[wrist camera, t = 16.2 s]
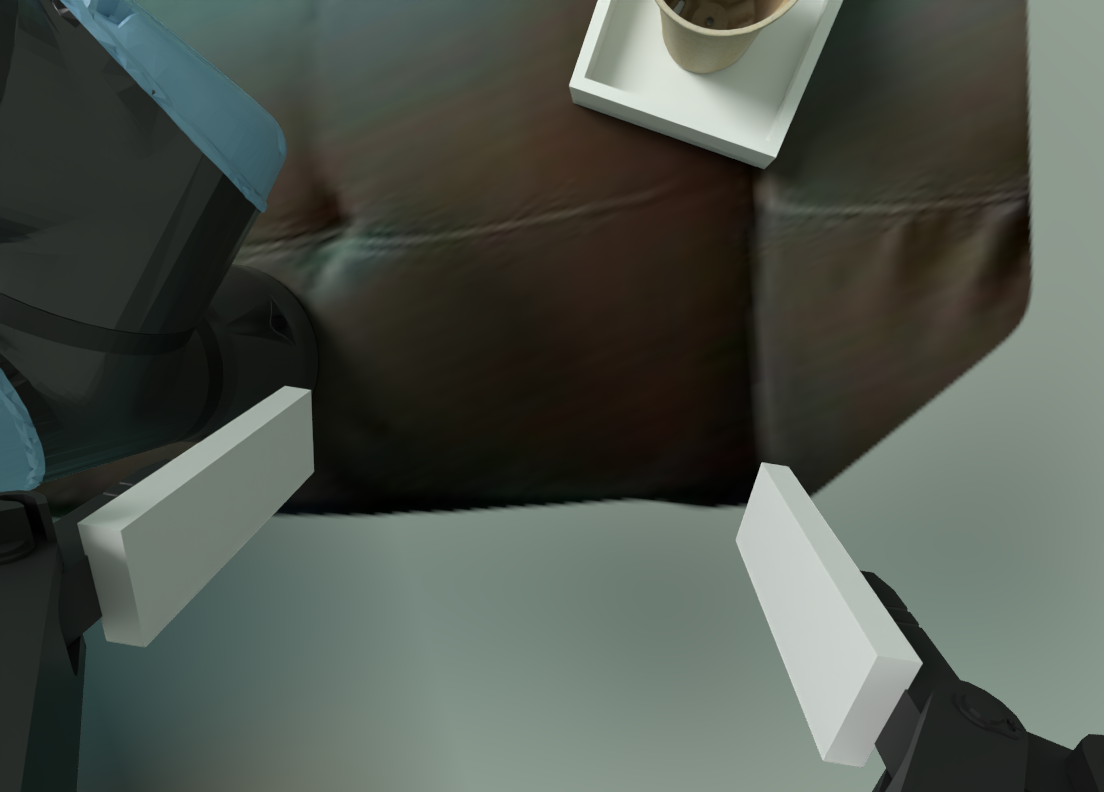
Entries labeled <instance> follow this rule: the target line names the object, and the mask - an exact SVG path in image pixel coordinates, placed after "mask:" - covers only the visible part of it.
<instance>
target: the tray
mask: <svg viewBox="0 0 1104 792" xmlns="http://www.w3.org/2000/svg"><path fill="white" fill-rule="evenodd" d="M842 2H843V0H798V1H797V3H796V4H795V5H794V6H793V7H792V8H791V9H790V10H789V11H788V12H786V13H785V14H784V15H783V16H782V17H780V18H779V19H778V20H776V21H775V22H773V23H772V24H770V25H768V26H767V27H765V28H763V30H762V31H761V32H760V33H759V35H758V36H757V37H756V38H755V40H754V41H753V42H752V44H751V45H750V46H749V48H748V49H747V51H746V52H745V53H744V54H743V56H742V57H741V58H740V59H739V60H737V61H736V62H735V63H734V64H732V65H730V66H728V67H726V68H724V69H721V70H718V71H715V72H712V73H707V74H703V73H695V72H691V71H689V70H686V69H684V68H683V67H681V66H680V65H679V64H677V63H676V62H675V61H674V60H673V58H672V57H671V56H670V54H669V52H668V50H667V48H666V46H665V43H664V40H663V35H662V22H661V15H660V8H659V6H658V5H657V3H656V2H655V0H598V2H597V5H596V8H595V11H594V14H593V17H592V20H591V23H590V26H589V29H588V31H587V34H586V37H585V40H584V43H583V46H582V49H581V52H580V55H579V58H578V61H577V64H576V67H575V70H574V73H573V76H572V79H571V82H570V84H569V88H570V92H571V95H572V99H573V103H575V104H578V105H581V106H584V107H587V108H590V109H592V110H595V111H598V112H601V113H604V114H607V115H610V116H613V117H615V118H618V119H621V120H624V121H627V122H630V123H633V124H635V125H638V126H641V127H644V128H647V129H650V130H653V131H656V132H658V133H661V134H664V135H667V136H670V137H673V138H676V139H679V140H681V141H684V142H687V143H690V144H693V145H696V146H699V147H702V148H704V149H707V150H710V151H713V152H716V153H719V154H722V155H725V156H727V157H730V158H733V159H736V160H739V161H742V162H745V163H747V164H750V165H753V166H756V167H759V168H762V169H765V168H766V167H767V166H768V165H769V164H770V163H771V162H772V161H773V160H774V159H775V158H776V156H777V154H778V152H779V149H780V147H781V144H782V142H783V140H784V137H785V135H786V133H787V130H788V128H789V126H790V123H791V121H792V119H793V116H794V114H795V112H796V109H797V107H798V105H799V102H800V100H801V98H802V95H803V93H804V91H805V88H806V86H807V84H808V81H809V79H810V77H811V74H812V72H813V70H814V67H815V65H816V63H817V60H818V58H819V56H820V53H821V51H822V49H823V46H824V44H825V41H826V39H827V37H828V34H829V32H830V30H831V27H832V25H833V23H834V20H835V18H836V16H837V13H838V11H839V9H840V6H841V4H842ZM684 4H685V1H683V0H680V1H679V2H678V4H677V6H676V7H675V8H674V10H673V11H674V12H675V13H676V14H677V15H678V16H679V13H680V12H681V10H682V8H683V6H684ZM707 24H708V25H711V24H713V20H712V18H709V19H707Z"/></svg>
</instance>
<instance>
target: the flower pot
mask: <svg viewBox="0 0 1104 792" xmlns="http://www.w3.org/2000/svg"><path fill="white" fill-rule="evenodd" d="M679 1H680V0H655V2H656V3H657V5H658V6H659V8H660V15H661V22H662V35H663V40H664V43H665V46H666V48H667V50H668V52H669V54H670V56H671V57H672V58H673V60H674V61H675V62H676V63H677V64H679V65H680V66H681V67H683V68H684V69H686V70H689V71H691V72H695V73H703V74H707V73H712V72H715V71H718V70H721V69H724V68H726V67H728V66H730V65H732V64H734V63H735V62H736V61H737V60H739V59H740V58H741V57H742V56H743V54H744V53H745V52H746V51H747V49H748V48H749V46H750V45H751V44H752V42H753V41H754V40H755V38H756V37H757V36H758V35H759V33H760V32H761V31H762V30H763V28H765V27H767V26H768V25H770V24H772V23H773V22H775V21H776V20H778V19H779V18H780V17H782V16H783V15H784V14H785V13H786V12H788V11H789V10H790V9H791V8H792V7H793V6H794V5H795V4H796V3H797V1H798V0H683V1H685V4H684V6H683V8H682V10H681V12H680V13H679V16H678V15H677V14H676V13H675V12H674V11H673V10H674V8H675V7H676V6H677V4H678V2H679ZM709 18H712V20H713V24H711V25H708V24H707V19H709Z"/></svg>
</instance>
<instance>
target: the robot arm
mask: <svg viewBox="0 0 1104 792" xmlns="http://www.w3.org/2000/svg"><path fill="white" fill-rule="evenodd" d="M286 154H287V145H286V140H285V136H284V134H283V131H282V130H281V128H280V126H279V124H278V123H277V122H276V120H275V119H274V118H273V117H272V116H271V115H270V114H269V113H268V112H267V111H266V110H265V109H264V108H263V107H262V106H260V105H259V104H258V103H257V102H256V101H255V100H254V99H252V98H251V97H250V96H249V95H248V94H247V93H246V92H244V91H243V90H242V89H241V88H240V87H238V86H237V85H236V84H235V83H234V82H233V81H231V80H230V79H229V78H228V77H227V76H225V75H224V74H223V73H222V72H221V71H219V70H218V69H217V68H216V67H215V66H213V65H212V64H211V63H210V62H209V61H207V60H206V59H205V58H204V57H203V56H201V55H200V54H199V53H198V52H196V51H195V50H194V49H193V48H191V47H190V46H189V45H188V44H187V43H185V42H184V41H183V40H182V39H180V38H179V37H178V36H177V35H176V34H174V33H173V32H172V31H171V30H170V29H168V28H167V27H166V26H165V25H163V24H162V23H161V22H160V21H159V20H157V19H156V18H155V17H154V16H152V15H151V14H150V13H149V12H147V11H146V10H145V9H144V8H143V7H141V6H140V5H139V4H138V3H136V2H135V1H134V0H0V792H77V781H78V765H79V750H80V735H81V719H82V705H83V688H84V674H85V659H86V644H85V640H84V636H83V633H84V632H85V631H86V630H87V629H88V628H90V627H91V626H92V625H93V624H94V623H95V622H96V621H97V620H99V618H101V621H102V625H103V629H104V633H105V637H106V641H111V642H116V643H122V644H129V645H134V646H141V647H146V646H147V645H148V644H149V643H150V642H151V641H152V640H153V639H154V638H155V637H156V636H157V635H158V634H159V632H160V631H161V630H162V629H163V628H164V627H165V626H166V625H167V624H168V623H169V622H170V621H171V620H172V619H173V618H174V617H175V616H176V615H177V614H178V613H179V612H180V611H181V610H182V609H183V608H184V606H186V604H187V603H188V602H189V601H190V600H191V599H192V598H193V597H194V596H195V595H196V594H197V593H198V592H199V591H200V590H201V589H202V588H203V587H204V586H205V585H206V584H207V583H208V582H209V581H210V580H211V578H212V577H213V576H214V575H215V574H216V573H217V572H218V571H219V570H220V569H221V568H222V567H223V566H224V565H225V564H226V563H227V562H228V561H229V560H230V559H231V558H232V557H233V556H234V554H235V553H236V552H237V551H238V550H239V549H240V548H241V547H242V546H243V545H244V544H245V543H246V542H247V541H248V540H249V539H250V538H251V537H252V536H253V535H254V534H255V533H256V532H257V531H258V530H259V529H260V528H261V527H262V525H263V524H264V523H265V522H266V521H267V520H268V519H269V518H270V517H271V516H272V515H273V514H274V513H275V512H276V511H277V510H278V509H279V508H280V507H281V506H282V505H283V504H284V503H285V502H286V501H287V499H288V498H289V497H290V496H291V495H292V494H293V493H294V492H295V491H296V490H297V489H298V488H299V487H300V486H301V485H302V484H303V483H304V482H305V481H306V480H307V479H308V478H309V477H310V476H311V475H312V473H313V472H314V457H313V430H312V403H311V396H312V394H313V391H314V388H315V385H316V380H317V374H318V350H317V344H316V339H315V335H314V332H313V329H312V326H311V324H310V321H309V319H308V317H307V315H306V313H305V312H304V310H303V308H302V307H301V305H300V304H299V302H298V301H297V300H296V299H295V297H294V296H293V295H292V294H291V293H290V292H289V291H288V290H287V289H286V288H285V287H284V286H283V285H282V284H280V283H279V282H278V281H276V280H275V279H274V278H272V277H270V276H269V275H267V274H265V273H263V272H261V271H259V270H256V269H253V268H250V267H246V266H241V265H233V264H232V263H233V261H234V259H235V257H236V255H237V254H238V252H239V250H240V248H241V246H242V244H243V243H244V241H245V239H246V237H247V235H248V234H249V232H250V230H251V228H252V226H253V224H254V223H255V221H256V219H257V217H258V215H259V214H260V212H261V213H264V212H265V211H266V209H267V203H266V199H267V197H268V195H269V193H270V191H271V189H272V187H273V185H274V182H275V180H276V178H277V176H278V174H279V172H280V170H281V168H282V166H283V164H284V161H285V158H286ZM176 442H194V443H198V444H196V445H195V446H193V447H192V448H190V449H189V450H187V451H186V452H184V453H183V454H181V455H180V456H178V457H177V458H175V459H174V460H169V459H164V460H162V461H159V462H156V463H154V464H151V465H148V466H146V467H143V468H140V469H139V470H137V471H135V472H134V473H132V474H131V475H129V476H127V477H126V478H124V479H123V480H121V481H120V483H119V484H115V485H113V486H112V487H110V488H109V489H107V490H105V491H104V492H103V494H102V495H100V494H99V495H97V496H96V497H94V498H93V499H91V500H90V501H88V502H86V503H85V504H83V505H82V506H80V507H79V508H77V509H75V510H74V511H72V512H71V513H69V514H67V515H66V516H64V517H63V518H61V519H60V520H58V521H56V522H55V523H53V522H52V518H51V514H50V511H49V507H48V503H47V500H46V497H45V496H44V495H42V494H40V493H38V492H35V491H28V490H31V489H34V488H36V486H39V485H40V484H43V483H46V482H49V481H53V480H56V479H59V478H62V477H66V476H69V475H72V474H75V473H78V472H82V471H85V470H88V469H91V468H95V467H98V466H101V465H104V464H108V463H111V462H114V461H117V460H120V459H124V458H127V457H130V456H133V455H137V454H140V453H143V452H147V451H150V450H153V449H157V448H160V447H163V446H166V445H170V444H173V443H176ZM736 543H737V546H738V548H739V551H740V553H741V556H742V558H743V561H744V563H745V566H746V569H747V571H748V574H749V576H750V579H751V581H752V584H753V586H754V588H755V591H756V594H757V596H758V599H759V601H760V604H761V606H762V609H763V611H764V614H765V616H766V619H767V622H768V624H769V626H770V629H771V632H772V634H773V637H774V639H775V642H776V644H777V647H778V649H779V652H780V654H781V657H782V659H783V662H784V664H785V667H786V670H787V672H788V675H789V677H790V680H791V682H792V685H793V687H794V690H795V692H796V694H797V697H798V700H799V702H800V705H801V707H802V710H803V712H804V715H805V717H806V720H807V723H808V725H809V727H810V730H811V733H812V735H813V738H814V740H815V743H816V745H817V748H818V750H819V753H820V755H821V758H822V760H823V761H825V762H832V763H837V764H843V765H849V766H855V767H861V768H863V767H864V765H865V764H866V762H867V760H868V758H869V756H870V755H871V753H872V751H873V749H874V748H875V746H876V748H877V750H878V752H879V754H880V756H881V758H882V760H883V762H884V764H885V766H886V769H885V771H884V773H883V774H882V776H881V778H880V779H879V781H878V783H877V784H876V786H875V788H874V790H873V791H872V792H1104V735H1094V734H1088V735H1087V736H1086V737H1085V738H1083V739H1082V740H1081V741H1080V743H1079V744H1078V745H1077V747H1076V748H1075V749H1074V750H1071V749H1069V748H1066V747H1064V746H1061V745H1059V744H1056V743H1054V742H1051V741H1049V740H1046V739H1044V738H1042V737H1039V736H1037V735H1034V734H1031V733H1029V732H1027V731H1026V729H1025V728H1024V727H1023V725H1022V724H1021V722H1020V721H1019V719H1018V718H1017V716H1016V715H1015V714H1014V713H1013V712H1012V711H1011V710H1009V708H1007V707H1006V706H1005V705H1004V704H1003V703H1002V702H1001V701H1000V700H998V699H997V698H995V697H994V696H992V695H991V694H989V693H988V692H987V691H985V690H983V689H981V688H979V687H977V686H975V685H973V684H971V683H969V682H965V681H961V680H960V679H959V678H958V677H957V675H956V674H955V672H954V671H953V670H952V668H951V667H950V666H949V664H948V663H947V662H946V660H945V659H944V657H943V656H942V655H941V653H940V652H939V651H938V649H937V648H936V647H935V645H934V644H933V642H932V641H931V640H930V639H929V637H928V636H927V634H926V633H925V632H924V630H923V629H922V628H920V627H919V624H918V622H917V621H916V619H915V618H914V617H913V616H912V614H911V613H910V612H908V611H907V607H906V606H905V604H904V603H903V602H902V600H901V599H900V598H899V596H898V595H897V594H896V592H895V591H894V590H893V589H892V588H891V587H890V586H888V585H887V584H886V583H885V582H884V581H882V580H881V579H880V578H879V577H878V576H876V575H875V574H874V573H872V572H865V571H860V570H859V569H858V568H857V566H856V565H855V563H854V562H853V560H852V559H851V558H850V556H849V555H848V553H847V552H846V550H845V549H844V547H843V546H842V544H841V543H840V541H839V540H838V538H837V537H836V536H835V534H834V533H833V531H832V530H831V528H830V527H829V525H828V524H827V522H826V521H825V519H824V518H823V517H822V515H821V514H820V512H819V511H818V509H817V508H816V506H815V505H814V503H813V502H812V500H811V499H810V497H809V496H808V495H807V493H806V492H805V490H804V489H803V487H802V486H801V484H800V483H799V481H798V480H797V478H796V477H795V476H794V474H793V473H792V471H791V470H790V468H789V467H787V466H781V465H775V464H768V463H761V466H760V469H759V472H758V475H757V478H756V481H755V484H754V487H753V490H752V493H751V496H750V499H749V502H748V505H747V508H746V511H745V514H744V517H743V519H742V523H741V525H740V528H739V531H738V534H737V537H736Z"/></svg>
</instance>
